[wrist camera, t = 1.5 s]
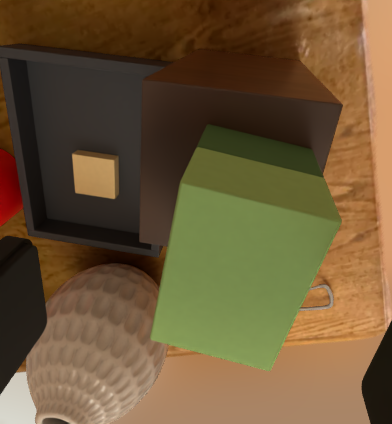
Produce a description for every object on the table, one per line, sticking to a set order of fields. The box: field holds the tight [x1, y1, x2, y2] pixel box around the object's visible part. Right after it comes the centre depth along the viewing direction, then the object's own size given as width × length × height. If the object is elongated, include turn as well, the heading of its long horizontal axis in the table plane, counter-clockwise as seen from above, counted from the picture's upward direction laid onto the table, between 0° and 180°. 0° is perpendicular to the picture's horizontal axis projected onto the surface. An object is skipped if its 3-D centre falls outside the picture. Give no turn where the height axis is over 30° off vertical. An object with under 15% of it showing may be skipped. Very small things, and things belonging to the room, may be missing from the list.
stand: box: [139, 49, 343, 247], centre depth 23 cm, size 8×8×16 cm
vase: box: [26, 263, 169, 424], centre depth 34 cm, size 13×13×17 cm
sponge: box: [150, 124, 342, 371], centre depth 14 cm, size 6×4×6 cm
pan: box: [0, 44, 174, 257], centre depth 33 cm, size 18×14×3 cm
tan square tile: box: [72, 150, 119, 199], centre depth 34 cm, size 4×4×1 cm
